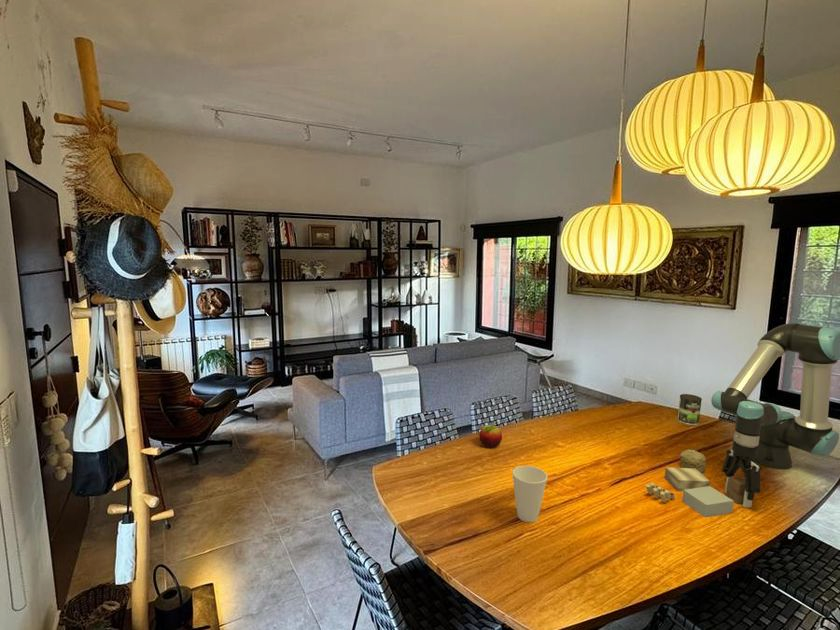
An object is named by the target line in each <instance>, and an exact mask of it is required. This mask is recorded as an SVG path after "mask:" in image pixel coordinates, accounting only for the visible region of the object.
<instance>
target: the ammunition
mask: <svg viewBox="0 0 840 630" xmlns="http://www.w3.org/2000/svg"><path fill="white" fill-rule="evenodd" d="M645 487H646V491H647V494H649V496H652V495H653V496H654V497H655V498H656V500H659V498H661V500H662V502H663V503H664V504H666V503H667V500H673V501H674V500H675V498H676V497H675V493H673V492H670V490H668V489H665V488H663V487H662V486H660V485H656V484H655V482H650V484H646V485H645Z"/></svg>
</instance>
